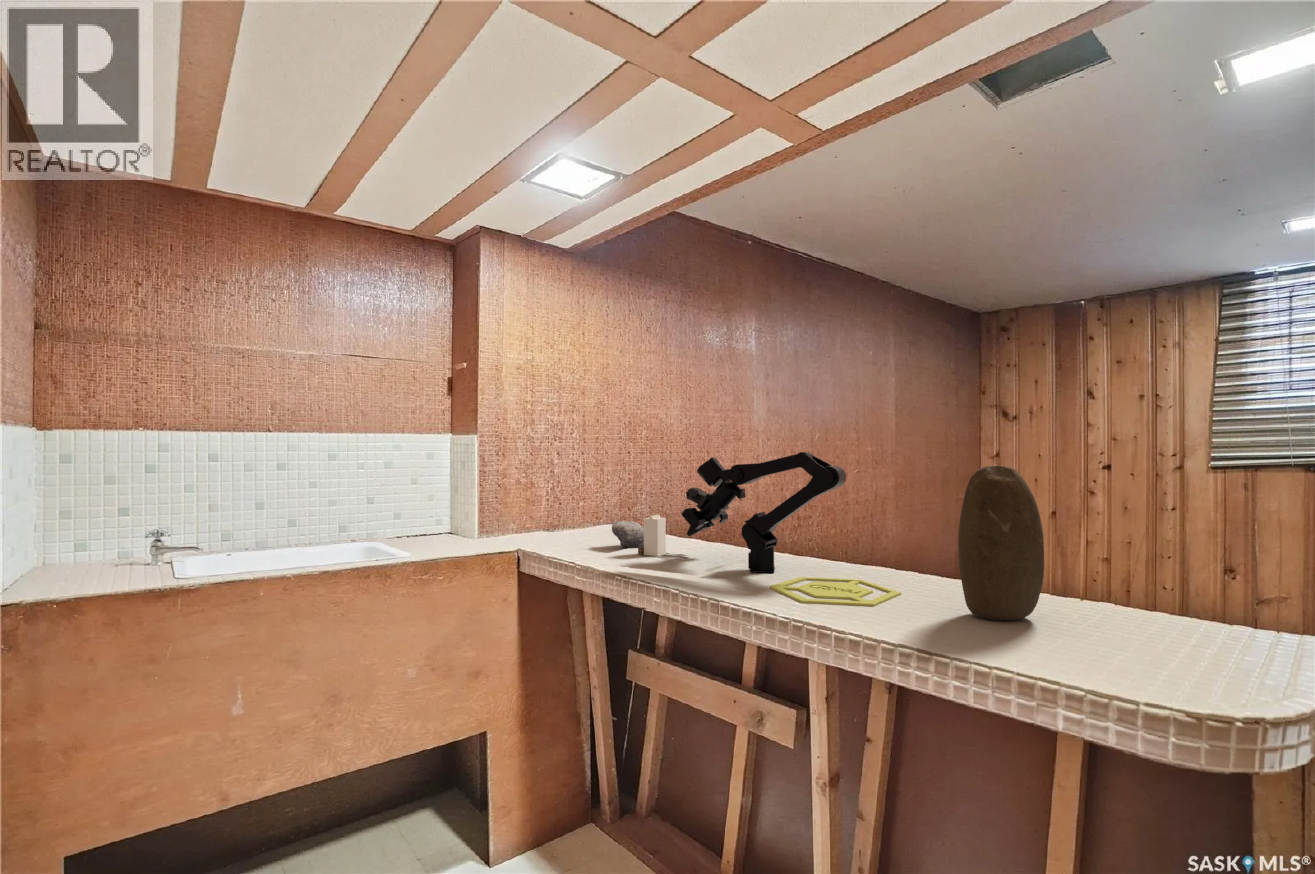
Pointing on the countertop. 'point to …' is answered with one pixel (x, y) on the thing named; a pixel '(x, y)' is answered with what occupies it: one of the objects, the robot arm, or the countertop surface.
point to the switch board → (670, 556)
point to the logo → (834, 591)
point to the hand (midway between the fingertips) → (688, 535)
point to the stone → (1000, 545)
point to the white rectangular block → (654, 535)
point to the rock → (629, 534)
